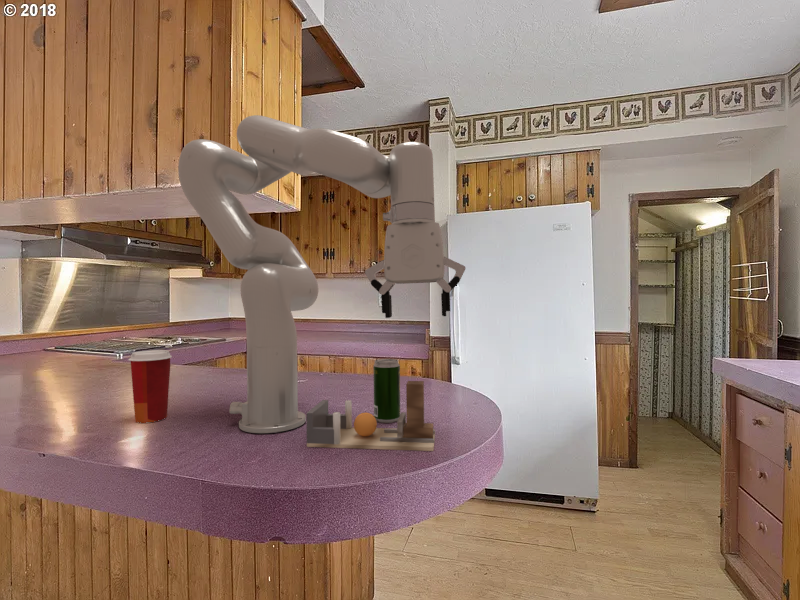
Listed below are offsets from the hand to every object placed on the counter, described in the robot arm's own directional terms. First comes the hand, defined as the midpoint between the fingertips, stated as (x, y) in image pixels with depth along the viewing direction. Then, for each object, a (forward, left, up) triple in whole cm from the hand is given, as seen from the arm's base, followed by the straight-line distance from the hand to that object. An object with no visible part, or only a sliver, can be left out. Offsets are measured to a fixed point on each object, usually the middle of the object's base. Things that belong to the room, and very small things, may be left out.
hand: (416, 316), depth 70 cm
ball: (-9, 0, -19) cm, 21 cm away
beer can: (-7, +12, -22) cm, 26 cm away
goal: (-15, 0, -21) cm, 26 cm away
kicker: (0, 0, -20) cm, 20 cm away
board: (-8, 0, -21) cm, 23 cm away
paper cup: (-56, +8, -22) cm, 61 cm away
